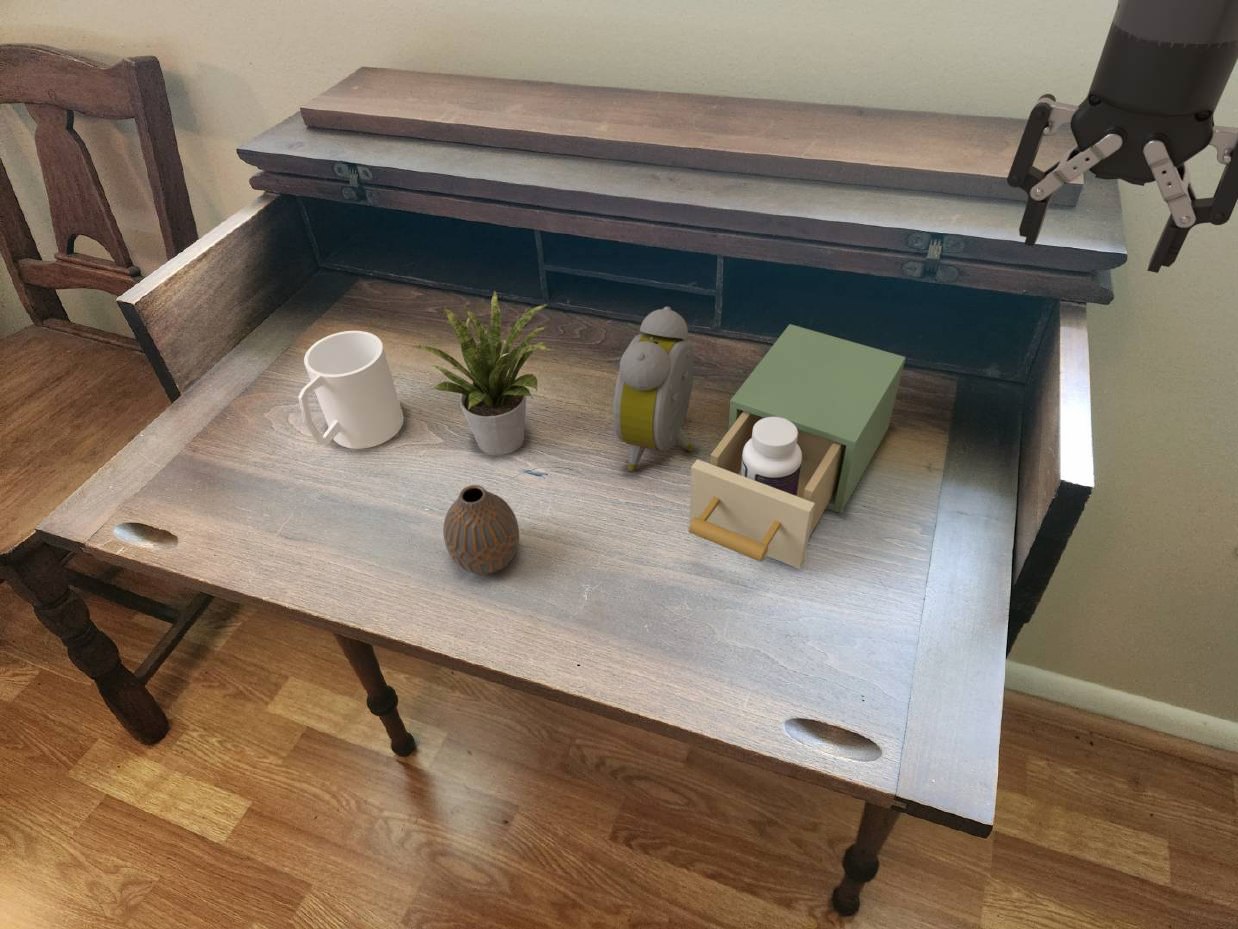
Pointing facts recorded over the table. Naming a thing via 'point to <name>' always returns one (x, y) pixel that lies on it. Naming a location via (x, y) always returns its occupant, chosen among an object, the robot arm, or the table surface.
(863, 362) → the cabinet
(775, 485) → the pill bottle
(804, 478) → the drawer
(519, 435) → the house plant
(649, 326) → the alarm clock
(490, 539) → the vase
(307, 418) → the cup
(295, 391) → the table surface
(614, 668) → the table surface
